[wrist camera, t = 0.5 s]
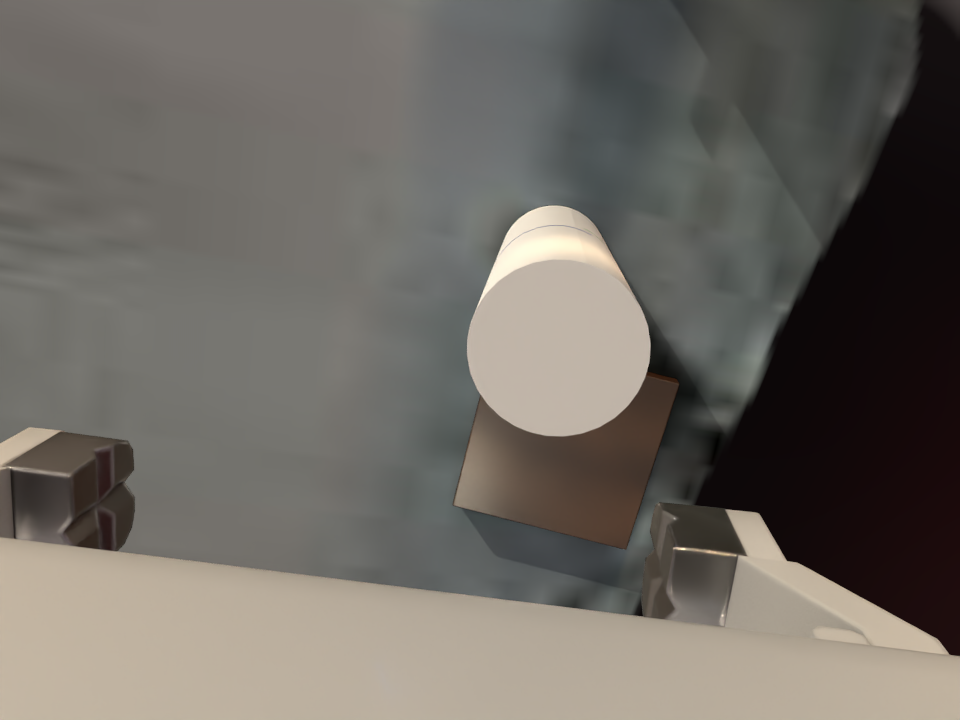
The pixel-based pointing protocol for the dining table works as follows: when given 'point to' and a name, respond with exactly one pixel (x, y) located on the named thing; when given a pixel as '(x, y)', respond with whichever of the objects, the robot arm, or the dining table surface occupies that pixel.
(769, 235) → the dining table surface
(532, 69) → the dining table surface
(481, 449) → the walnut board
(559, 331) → the cylindrical container
